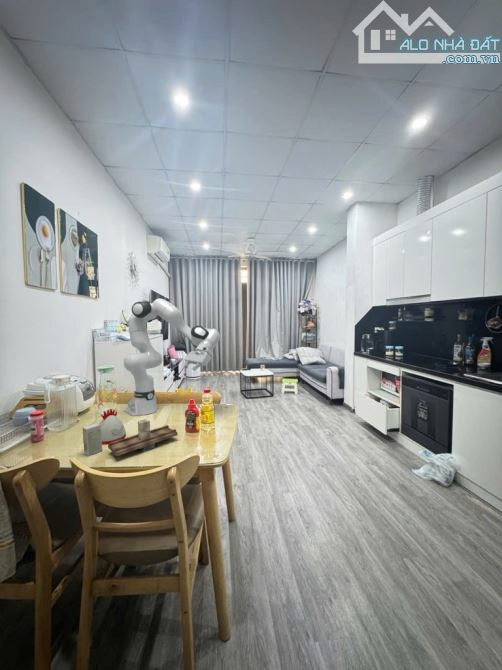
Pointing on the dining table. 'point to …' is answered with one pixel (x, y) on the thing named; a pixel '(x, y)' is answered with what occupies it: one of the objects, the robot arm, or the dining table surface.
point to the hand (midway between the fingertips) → (189, 368)
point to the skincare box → (92, 439)
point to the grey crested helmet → (111, 428)
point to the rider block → (143, 429)
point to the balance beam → (141, 441)
